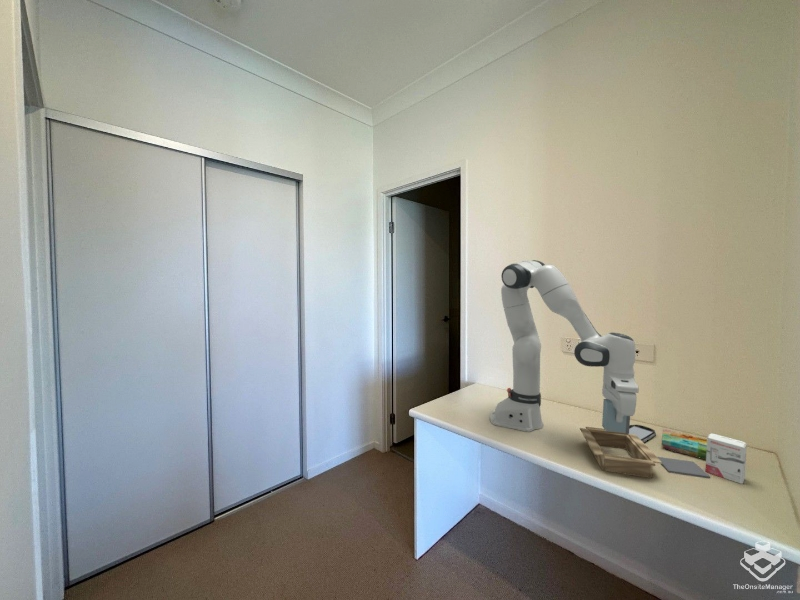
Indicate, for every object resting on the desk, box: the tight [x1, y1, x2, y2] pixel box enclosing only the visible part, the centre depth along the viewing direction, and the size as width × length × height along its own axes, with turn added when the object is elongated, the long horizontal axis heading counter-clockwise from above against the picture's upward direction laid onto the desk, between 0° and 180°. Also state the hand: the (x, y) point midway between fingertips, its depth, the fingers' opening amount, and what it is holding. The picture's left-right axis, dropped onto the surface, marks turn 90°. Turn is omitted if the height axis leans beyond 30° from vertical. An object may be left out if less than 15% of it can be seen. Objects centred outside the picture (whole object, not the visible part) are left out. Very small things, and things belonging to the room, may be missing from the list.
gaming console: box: [629, 424, 657, 444], centre depth 129 cm, size 19×9×2 cm, turn 122°
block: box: [601, 398, 631, 434], centre depth 112 cm, size 7×4×10 cm, turn 73°
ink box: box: [705, 433, 747, 484], centre depth 102 cm, size 9×5×12 cm, turn 38°
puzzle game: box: [661, 429, 707, 460], centre depth 116 cm, size 12×5×20 cm
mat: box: [656, 456, 711, 479], centre depth 106 cm, size 11×9×1 cm
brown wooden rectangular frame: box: [579, 426, 662, 479], centre depth 112 cm, size 24×19×6 cm
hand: (615, 418), depth 112 cm, fingers closed on block, 4 cm apart
